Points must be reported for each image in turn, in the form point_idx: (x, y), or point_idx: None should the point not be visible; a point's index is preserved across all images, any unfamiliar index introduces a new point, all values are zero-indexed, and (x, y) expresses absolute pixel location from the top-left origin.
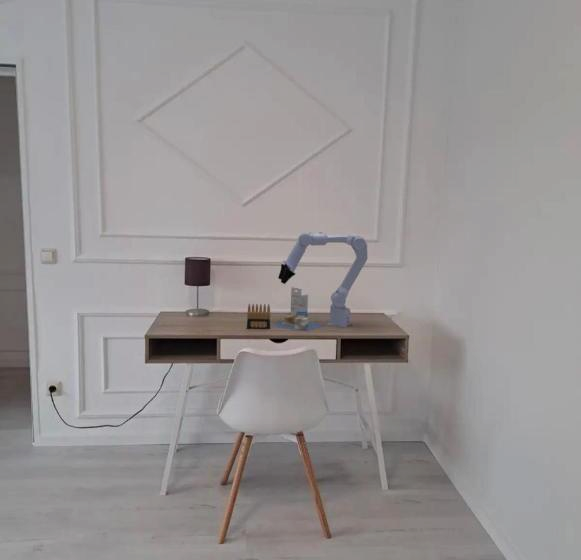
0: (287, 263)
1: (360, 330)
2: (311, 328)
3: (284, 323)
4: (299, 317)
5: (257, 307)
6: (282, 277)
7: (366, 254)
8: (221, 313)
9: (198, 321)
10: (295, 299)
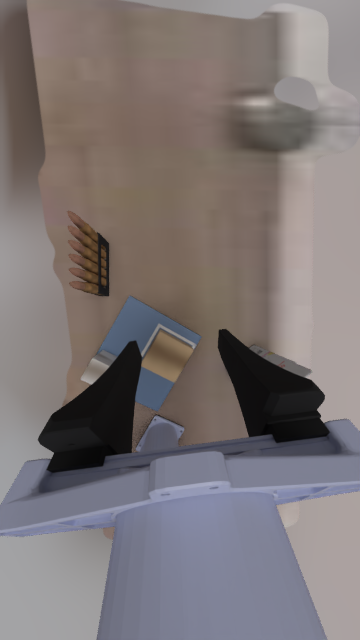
0: (109, 504)
1: None
2: None
3: (155, 329)
4: (107, 368)
5: (72, 247)
6: (123, 357)
7: None
8: (265, 183)
9: (176, 121)
10: None
